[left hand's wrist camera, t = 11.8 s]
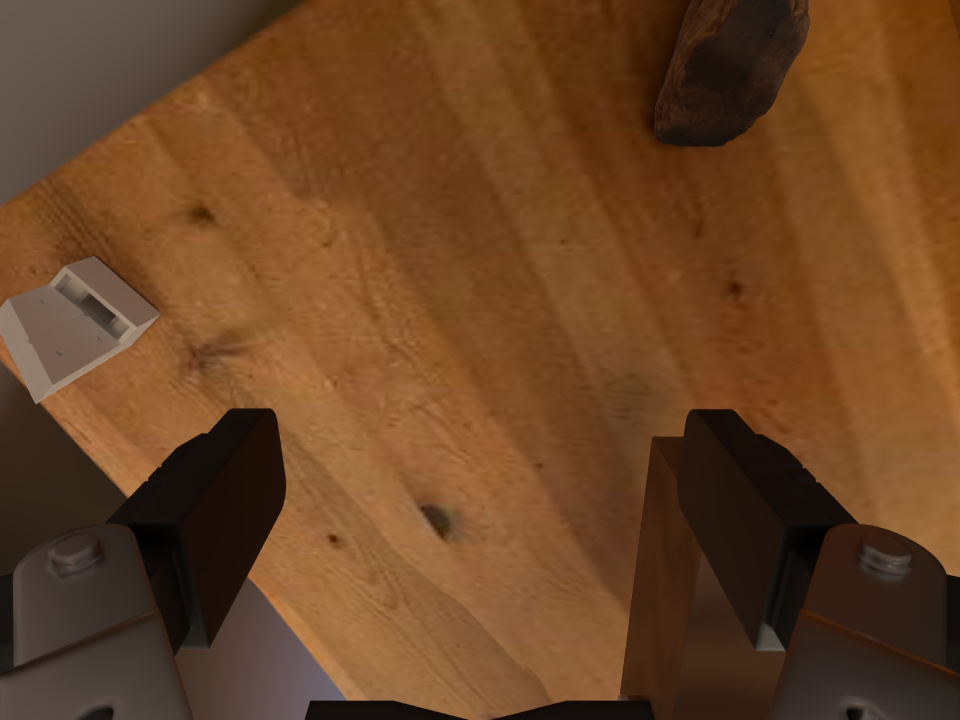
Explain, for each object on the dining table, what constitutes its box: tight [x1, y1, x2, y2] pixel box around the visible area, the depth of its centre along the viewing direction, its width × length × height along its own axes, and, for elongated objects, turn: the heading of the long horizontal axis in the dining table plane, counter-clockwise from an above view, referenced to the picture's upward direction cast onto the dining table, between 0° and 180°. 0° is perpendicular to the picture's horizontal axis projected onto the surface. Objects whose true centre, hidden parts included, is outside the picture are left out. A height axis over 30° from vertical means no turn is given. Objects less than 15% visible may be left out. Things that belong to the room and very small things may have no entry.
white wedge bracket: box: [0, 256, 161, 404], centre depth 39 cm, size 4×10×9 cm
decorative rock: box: [654, 0, 810, 147], centre depth 31 cm, size 12×6×11 cm, turn 170°
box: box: [620, 437, 787, 720], centre depth 35 cm, size 21×6×9 cm, turn 0°
